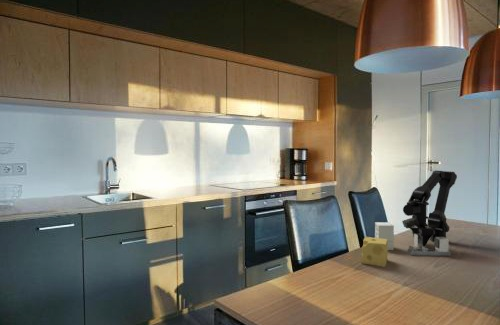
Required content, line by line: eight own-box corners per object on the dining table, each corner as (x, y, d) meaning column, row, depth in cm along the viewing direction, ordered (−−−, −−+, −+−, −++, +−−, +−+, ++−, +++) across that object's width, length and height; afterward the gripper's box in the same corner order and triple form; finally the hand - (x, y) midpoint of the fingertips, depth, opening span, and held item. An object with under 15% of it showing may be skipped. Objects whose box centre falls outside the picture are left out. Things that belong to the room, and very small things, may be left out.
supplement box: (389, 246, 171) (389, 222, 171) (393, 250, 164) (394, 225, 163) (374, 245, 172) (374, 221, 171) (378, 250, 165) (378, 225, 164)
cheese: (360, 263, 145) (361, 241, 145) (364, 256, 155) (365, 235, 154) (386, 267, 140) (386, 244, 140) (388, 260, 150) (388, 238, 150)
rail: (445, 253, 159) (446, 236, 159) (450, 255, 155) (450, 239, 155) (407, 252, 160) (407, 236, 160) (411, 255, 156) (411, 238, 156)
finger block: (423, 244, 173) (423, 233, 173) (426, 247, 169) (426, 235, 169) (414, 244, 174) (414, 233, 174) (417, 247, 170) (417, 235, 170)
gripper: (397, 210, 181) (397, 238, 181) (412, 217, 162) (411, 248, 163) (418, 210, 180) (417, 238, 181) (435, 217, 161) (434, 249, 162)
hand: (419, 243), depth 172 cm, fingers open, 9 cm apart
